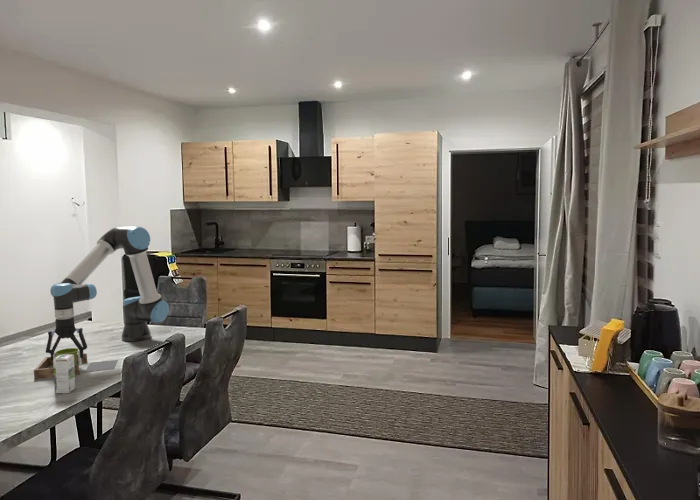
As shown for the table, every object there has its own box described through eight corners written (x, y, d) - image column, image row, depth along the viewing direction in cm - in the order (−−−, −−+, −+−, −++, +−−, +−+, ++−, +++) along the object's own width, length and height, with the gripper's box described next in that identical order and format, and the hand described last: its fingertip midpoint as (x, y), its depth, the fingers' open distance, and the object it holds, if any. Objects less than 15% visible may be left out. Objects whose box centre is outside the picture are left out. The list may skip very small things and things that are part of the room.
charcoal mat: (117, 360, 251) (117, 359, 251) (113, 368, 238) (113, 368, 238) (90, 362, 248) (90, 362, 248) (84, 371, 234) (84, 371, 234)
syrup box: (61, 389, 213) (58, 354, 212) (76, 388, 214) (73, 353, 212) (54, 394, 208) (52, 358, 206) (70, 393, 208) (67, 358, 207)
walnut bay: (87, 361, 250) (86, 353, 250) (79, 374, 231) (78, 365, 231) (46, 365, 245) (45, 357, 245) (34, 379, 226) (33, 370, 225)
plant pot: (56, 373, 232) (54, 354, 232) (56, 368, 241) (55, 349, 240) (79, 370, 237) (78, 351, 236) (79, 364, 245) (78, 346, 244)
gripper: (34, 321, 230) (38, 371, 232) (89, 317, 236) (93, 365, 238) (39, 318, 237) (43, 366, 239) (92, 314, 243) (95, 360, 245)
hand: (68, 365), depth 239 cm, fingers closed on plant pot, 9 cm apart
